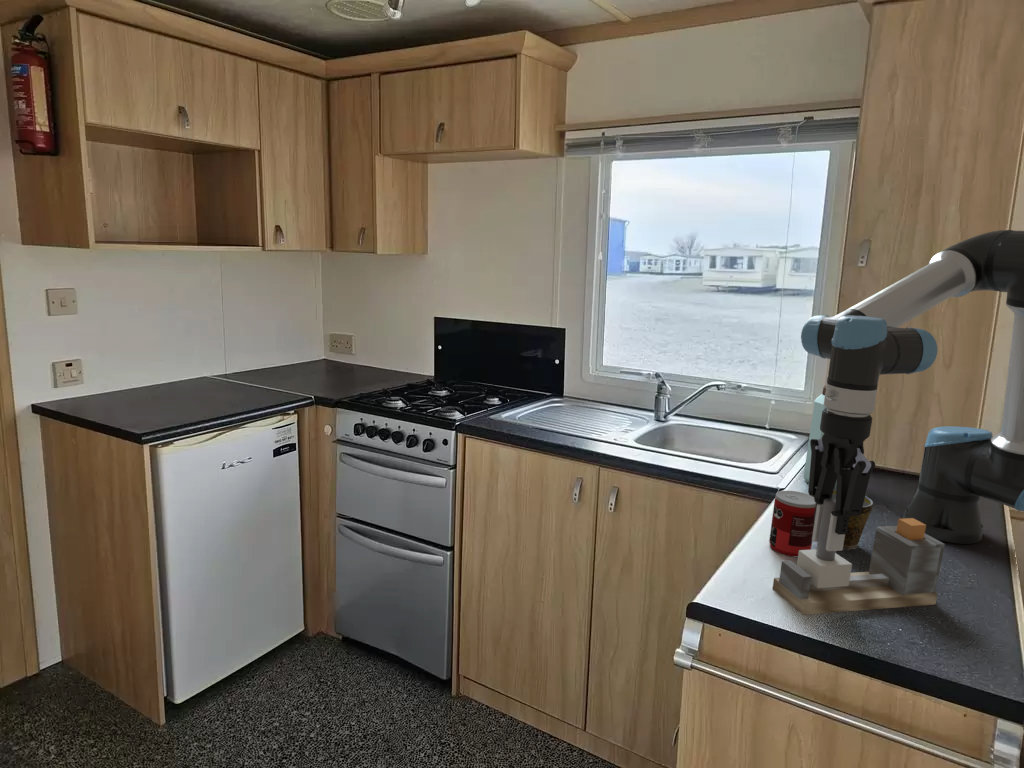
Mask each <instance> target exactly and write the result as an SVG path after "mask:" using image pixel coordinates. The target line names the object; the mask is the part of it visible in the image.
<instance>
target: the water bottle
mask: <svg viewBox="0 0 1024 768" xmlns="http://www.w3.org/2000/svg"><path fill="white" fill-rule="evenodd" d="M826 386H827V385H824V386H823V389H822V393H821V394H820V395H819V396H817V397H816V398H815V399H814V401H813V402H814V403H813V411H812V416H811V421H810V422H811V423H810V430H809V438H808V444H807V449H806V450H807V451H806V457H805V464H804V471H803V480H804V481H805V482H806V483H807V484H809V476H810V465H811V453H812V452H811V445H810V440H811V439H822V436H823V435H824V433H823V432H822V431H821V430H820V423H821V416H822V411H823V410H824V409H826V407H825V406H824V398H825V392H826ZM836 484H837V480H836ZM836 484H835V487H834V489H836Z"/></svg>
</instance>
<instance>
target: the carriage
mask: <svg viewBox="0 0 1024 768" xmlns="http://www.w3.org/2000/svg"><path fill="white" fill-rule="evenodd" d="M835 506H836V499H824V503H823V510H822V516H821V523H820V530H819V536H818V542H816V549H815V548H814V549H811V550H799V553H798V557H797V560H796V565H797V566H798V567H799V568H801V569H802V570H803V571H805V572H806V573H807V574H809V575H810V576H811V584H812V585H814V586H815V587H816V588H828V587H842V586H849V580H850V574H851V573H852V567H853V563H851V562H849V561H848V560H847V559H845V558H844V557H842V556H840V554H838V553H837V551H827V550H826V543H827V537H828V530H829V524H830V517H831V511H835Z"/></svg>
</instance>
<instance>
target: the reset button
mask: <svg viewBox="0 0 1024 768" xmlns="http://www.w3.org/2000/svg"><path fill="white" fill-rule="evenodd" d="M897 520H898V521H897V525H896V526H897V531H896V533H897V534H899V535H901V536H902V537H904V538H906V539H908V540H919V539H924V534H925V528H926V525H925V524H923V523H921V522H920V521H918V520H916V519H914V518H905V519H903V518H898V519H897Z"/></svg>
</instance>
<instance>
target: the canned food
mask: <svg viewBox="0 0 1024 768" xmlns="http://www.w3.org/2000/svg"><path fill="white" fill-rule="evenodd" d="M815 506H816V502H815V501H814V497H812V496H810V495H809V493H808V494H807V493H804V492H800V491H797V490H779V491H777V492H776V493H775V497H774V502H773V511H772V518H771V525H770V532H769V533H770V534H769V540H768V542H769V546H770V548H771V549H772V550H773V551H775V552H777V553H778V554H781V555H783V554H784V556H787V555H788V556H787V557H791V556H798V553H799V550H812V546H813V545H812V543H813V540H812V536H813V529H814V522H815V519H814V513H815Z"/></svg>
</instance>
